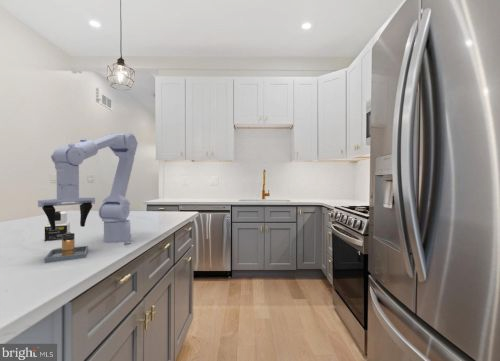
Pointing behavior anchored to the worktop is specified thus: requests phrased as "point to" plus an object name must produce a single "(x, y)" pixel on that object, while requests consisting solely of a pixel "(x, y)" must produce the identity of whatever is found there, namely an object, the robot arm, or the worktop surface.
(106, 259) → the worktop surface
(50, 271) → the worktop surface
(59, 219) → the medicine bottle
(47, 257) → the tray
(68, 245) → the cell
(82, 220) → the robot arm
